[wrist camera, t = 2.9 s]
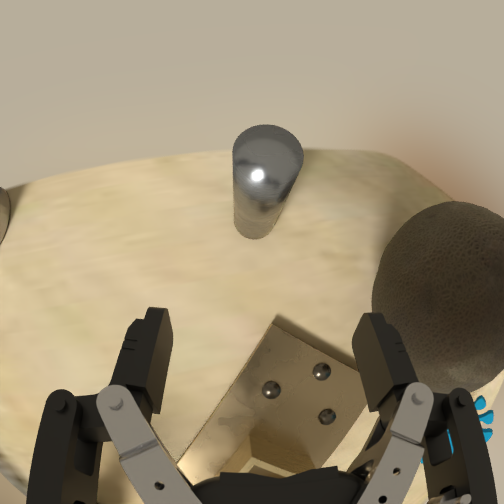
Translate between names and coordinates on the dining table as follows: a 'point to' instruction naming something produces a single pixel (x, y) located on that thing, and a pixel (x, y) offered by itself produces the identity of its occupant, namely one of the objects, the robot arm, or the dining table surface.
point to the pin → (263, 177)
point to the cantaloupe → (447, 294)
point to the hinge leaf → (278, 413)
